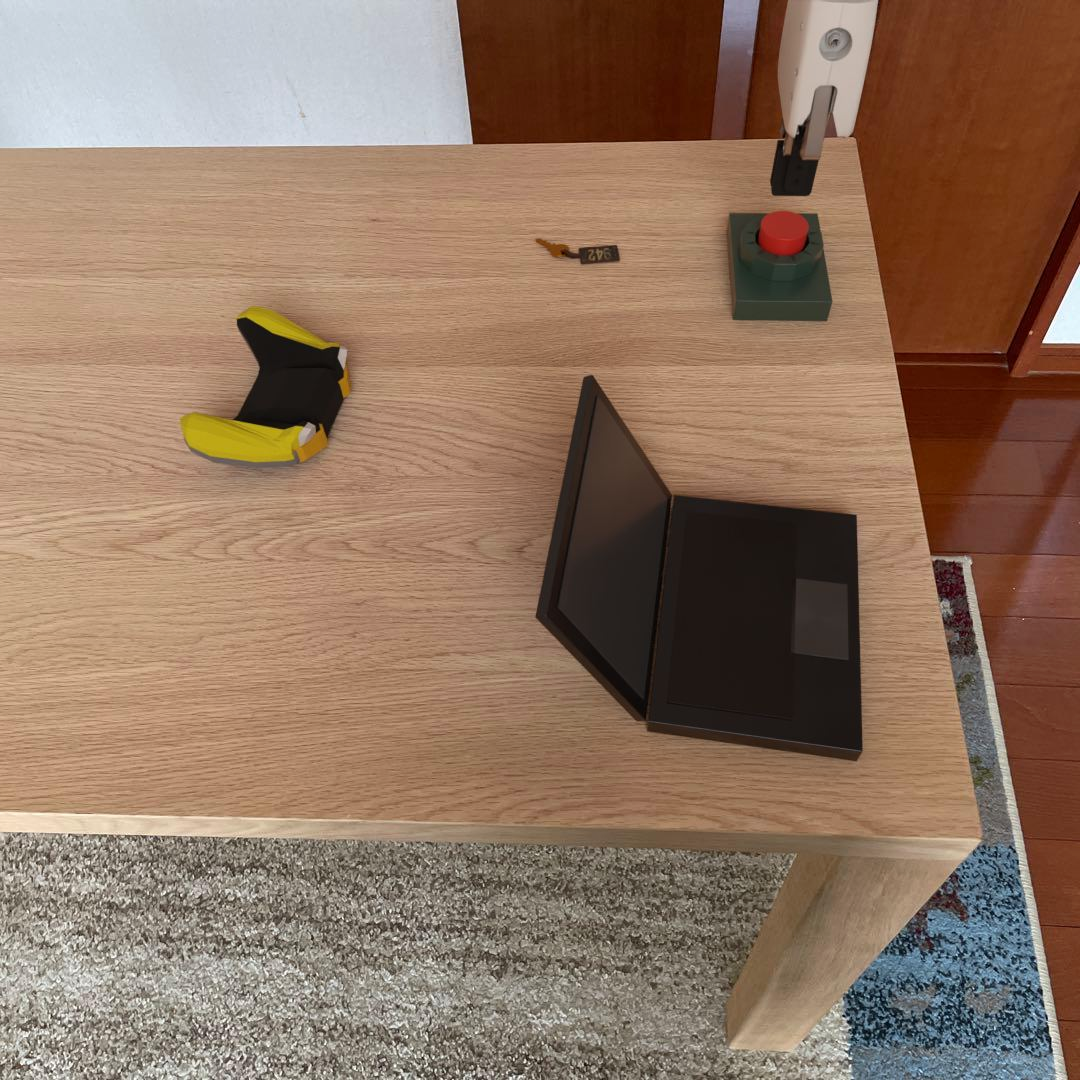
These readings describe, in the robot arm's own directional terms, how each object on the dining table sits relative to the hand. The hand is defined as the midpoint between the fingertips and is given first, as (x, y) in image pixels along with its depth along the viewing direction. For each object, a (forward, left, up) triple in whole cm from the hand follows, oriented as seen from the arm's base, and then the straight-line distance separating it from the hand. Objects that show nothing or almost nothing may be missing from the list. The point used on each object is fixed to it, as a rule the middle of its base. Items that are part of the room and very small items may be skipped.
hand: (789, 189), depth 77 cm
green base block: (0, 0, -9) cm, 9 cm away
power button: (0, 0, -5) cm, 5 cm away
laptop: (+18, +32, -9) cm, 37 cm away
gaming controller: (+45, 0, -9) cm, 46 cm away
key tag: (+15, -10, -9) cm, 20 cm away
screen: (+26, +27, -1) cm, 38 cm away
